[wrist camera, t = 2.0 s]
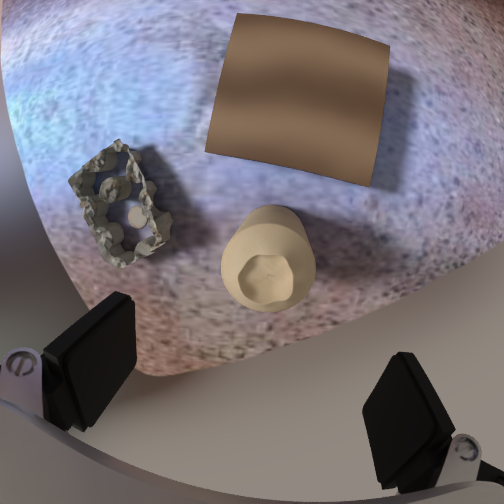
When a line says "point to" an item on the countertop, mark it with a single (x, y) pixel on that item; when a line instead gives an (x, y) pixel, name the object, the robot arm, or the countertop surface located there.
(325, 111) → the plinth
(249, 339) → the countertop surface
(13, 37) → the countertop surface
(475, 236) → the countertop surface
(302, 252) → the candle
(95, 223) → the egg carton
